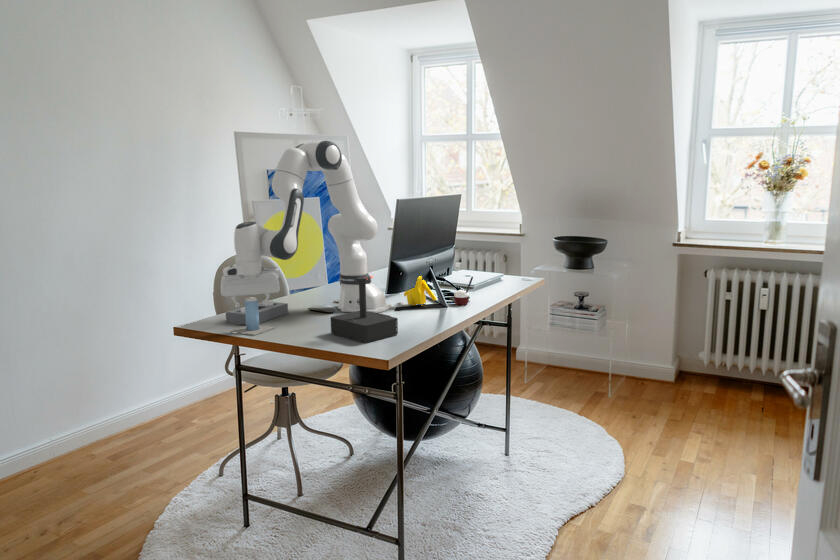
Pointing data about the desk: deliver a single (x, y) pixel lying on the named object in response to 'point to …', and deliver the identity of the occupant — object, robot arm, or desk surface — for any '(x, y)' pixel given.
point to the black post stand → (364, 321)
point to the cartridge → (251, 314)
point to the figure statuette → (419, 293)
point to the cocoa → (462, 296)
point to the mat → (261, 330)
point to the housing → (264, 313)
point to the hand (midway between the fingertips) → (251, 306)
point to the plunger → (270, 302)
